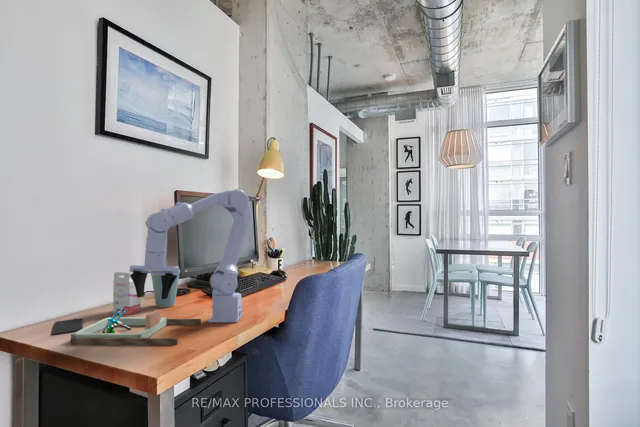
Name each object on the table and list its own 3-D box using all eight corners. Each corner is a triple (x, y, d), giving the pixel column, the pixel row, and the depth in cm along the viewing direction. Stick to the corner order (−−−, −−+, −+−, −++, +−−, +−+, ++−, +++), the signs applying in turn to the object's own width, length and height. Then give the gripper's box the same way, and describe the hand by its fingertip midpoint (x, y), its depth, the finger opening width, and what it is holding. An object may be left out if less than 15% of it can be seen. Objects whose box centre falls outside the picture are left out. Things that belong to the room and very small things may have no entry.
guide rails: (200, 323, 112) (200, 318, 112) (176, 344, 94) (176, 338, 94) (112, 323, 113) (112, 318, 113) (70, 344, 94) (70, 338, 94)
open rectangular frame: (167, 324, 111) (167, 305, 111) (140, 342, 95) (140, 320, 95) (107, 324, 112) (107, 305, 112) (70, 342, 96) (71, 320, 96)
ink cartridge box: (141, 311, 127) (141, 271, 127) (129, 315, 123) (129, 273, 123) (124, 309, 130) (124, 269, 131) (112, 312, 126) (112, 271, 126)
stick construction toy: (104, 321, 108) (119, 302, 108) (125, 331, 111) (140, 312, 110) (92, 345, 97) (109, 324, 97) (116, 355, 100) (133, 334, 99)
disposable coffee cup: (149, 310, 128) (149, 269, 128) (151, 303, 138) (151, 266, 138) (180, 307, 133) (180, 268, 133) (179, 301, 142) (179, 264, 143)
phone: (82, 317, 118) (82, 329, 106) (82, 320, 118) (82, 332, 106) (55, 321, 114) (51, 334, 101) (55, 324, 114) (51, 336, 101)
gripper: (124, 251, 101) (120, 298, 100) (172, 254, 100) (168, 302, 99) (139, 250, 108) (135, 294, 108) (183, 253, 107) (180, 297, 106)
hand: (152, 297), depth 104 cm, fingers open, 7 cm apart
